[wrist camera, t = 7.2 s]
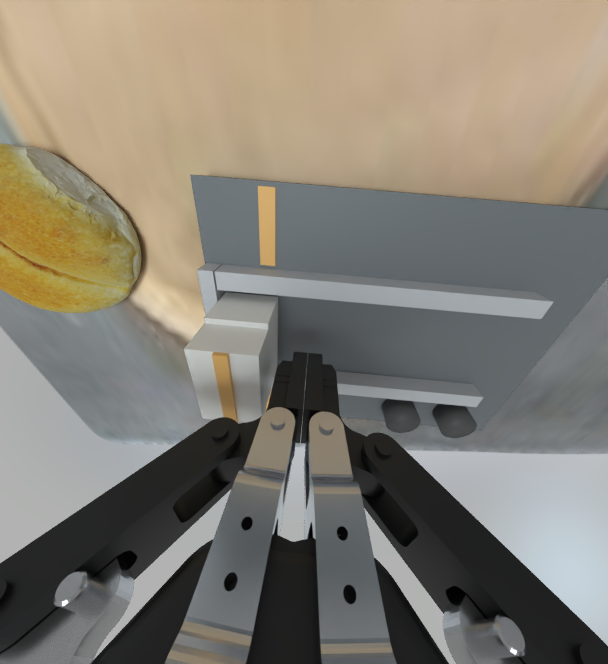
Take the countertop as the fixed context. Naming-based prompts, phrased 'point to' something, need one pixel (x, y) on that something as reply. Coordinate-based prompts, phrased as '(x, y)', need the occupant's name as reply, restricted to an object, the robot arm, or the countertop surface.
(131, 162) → the countertop surface
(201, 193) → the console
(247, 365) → the fader
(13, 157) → the bread roll
